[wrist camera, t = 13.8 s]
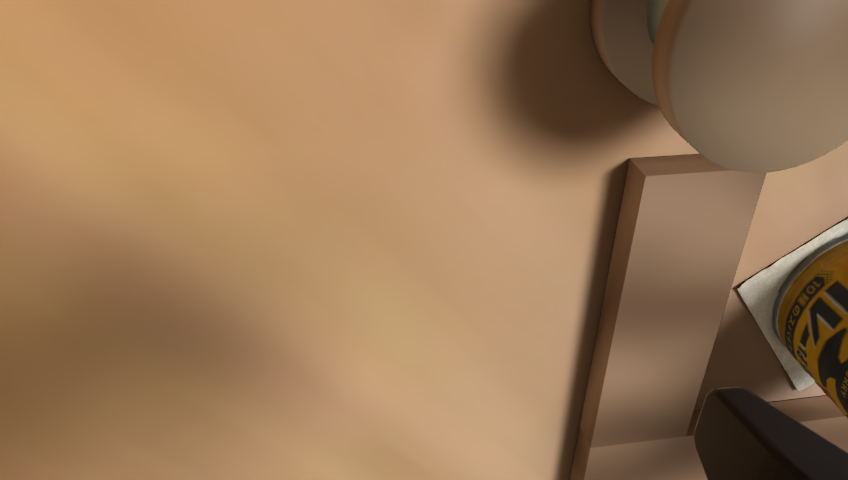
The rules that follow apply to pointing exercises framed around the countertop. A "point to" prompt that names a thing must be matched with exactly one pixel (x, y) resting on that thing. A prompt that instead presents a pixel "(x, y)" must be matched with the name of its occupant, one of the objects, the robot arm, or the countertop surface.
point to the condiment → (807, 312)
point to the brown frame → (670, 321)
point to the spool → (735, 73)
